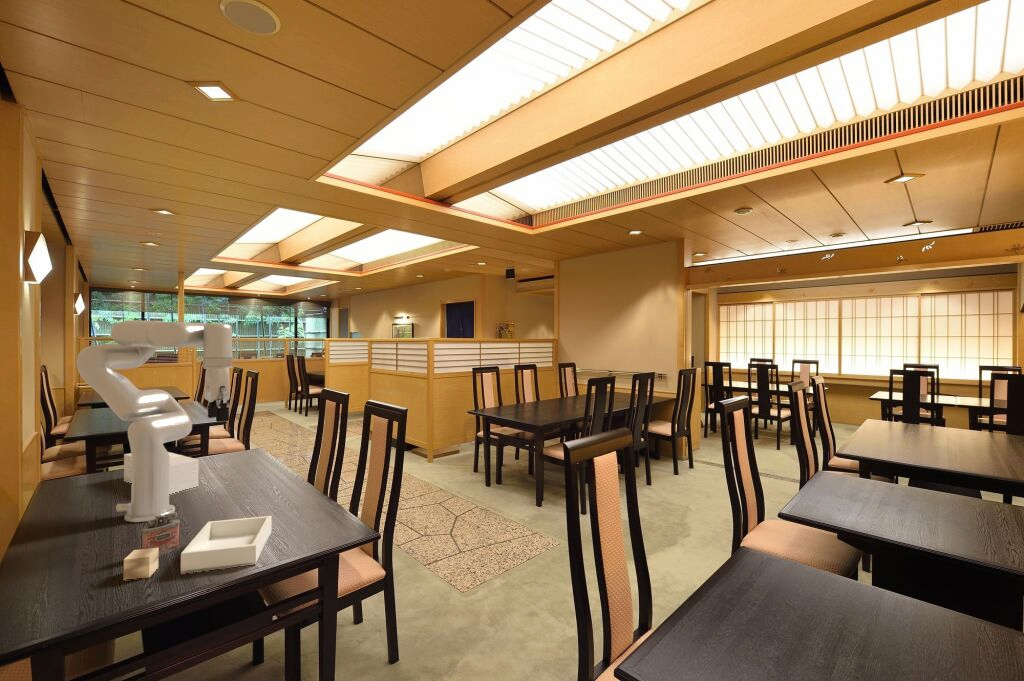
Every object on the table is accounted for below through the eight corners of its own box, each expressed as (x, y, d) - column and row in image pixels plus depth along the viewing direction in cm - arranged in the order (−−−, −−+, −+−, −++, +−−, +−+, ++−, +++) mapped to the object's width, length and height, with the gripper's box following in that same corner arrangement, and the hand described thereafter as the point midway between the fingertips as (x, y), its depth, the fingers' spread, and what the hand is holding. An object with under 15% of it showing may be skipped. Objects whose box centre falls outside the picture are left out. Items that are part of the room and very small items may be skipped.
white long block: (123, 481, 179) (124, 454, 179) (155, 474, 188) (155, 448, 188) (166, 496, 163) (166, 466, 163) (198, 488, 173) (198, 459, 173)
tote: (180, 574, 110) (180, 553, 110) (208, 539, 129) (208, 521, 129) (255, 565, 114) (255, 545, 114) (271, 532, 133) (271, 515, 133)
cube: (123, 581, 107) (123, 559, 106) (133, 570, 111) (134, 550, 111) (149, 577, 108) (149, 556, 108) (158, 567, 113) (158, 547, 113)
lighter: (143, 561, 116) (144, 521, 116) (139, 557, 118) (140, 518, 118) (181, 549, 122) (181, 512, 122) (176, 546, 124) (177, 509, 124)
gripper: (197, 363, 144) (197, 417, 144) (210, 364, 132) (211, 424, 132) (224, 362, 149) (224, 414, 149) (240, 364, 137) (240, 421, 137)
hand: (218, 419), depth 141 cm, fingers open, 9 cm apart
